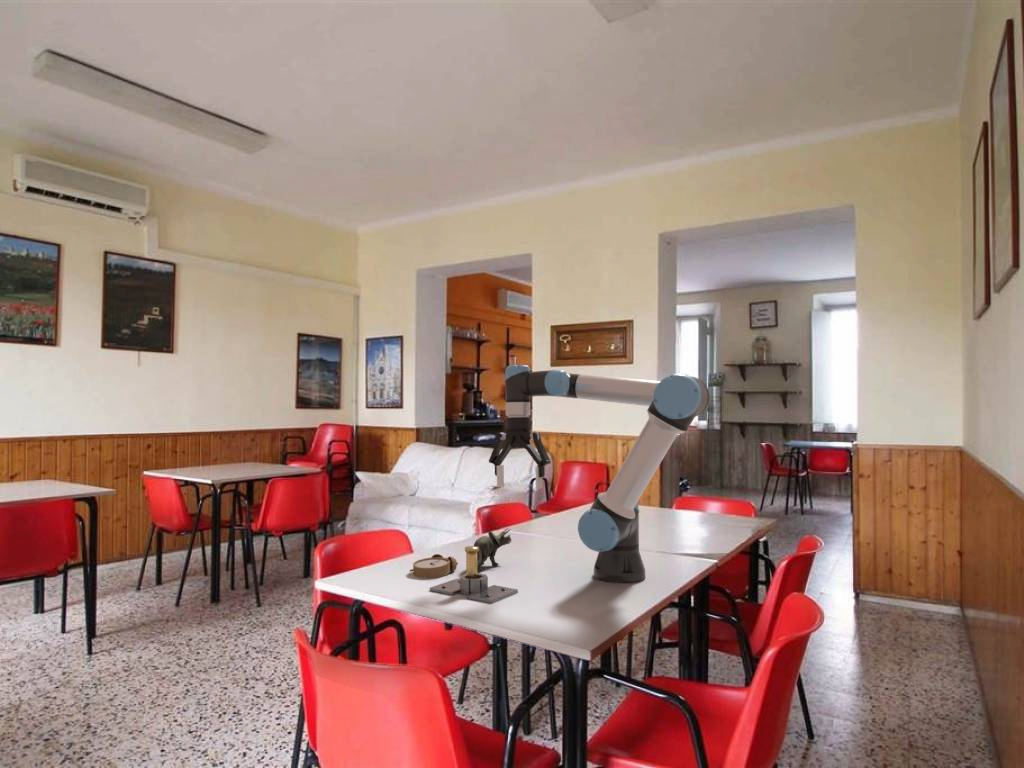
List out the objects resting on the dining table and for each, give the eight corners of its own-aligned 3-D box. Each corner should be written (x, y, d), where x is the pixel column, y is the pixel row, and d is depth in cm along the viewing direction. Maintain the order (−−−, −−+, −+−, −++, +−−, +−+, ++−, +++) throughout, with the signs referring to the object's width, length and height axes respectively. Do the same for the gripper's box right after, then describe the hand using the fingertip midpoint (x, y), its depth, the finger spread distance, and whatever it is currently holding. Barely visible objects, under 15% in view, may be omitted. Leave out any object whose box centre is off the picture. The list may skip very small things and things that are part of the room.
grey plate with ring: (457, 581, 183) (457, 567, 183) (517, 592, 171) (517, 577, 171) (429, 590, 173) (429, 575, 173) (491, 603, 161) (491, 587, 161)
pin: (481, 590, 173) (481, 547, 173) (472, 594, 170) (472, 549, 170) (470, 588, 175) (470, 545, 176) (461, 591, 172) (461, 547, 172)
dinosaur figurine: (474, 577, 187) (474, 538, 188) (451, 573, 192) (451, 536, 192) (513, 562, 206) (513, 527, 207) (491, 559, 210) (491, 525, 211)
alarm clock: (404, 565, 191) (439, 548, 203) (406, 580, 192) (441, 562, 203) (430, 570, 184) (465, 552, 196) (432, 587, 185) (466, 568, 196)
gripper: (560, 415, 187) (562, 488, 186) (490, 417, 200) (491, 484, 199) (548, 416, 181) (550, 490, 180) (477, 417, 194) (478, 487, 193)
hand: (519, 487), depth 189 cm, fingers open, 13 cm apart
